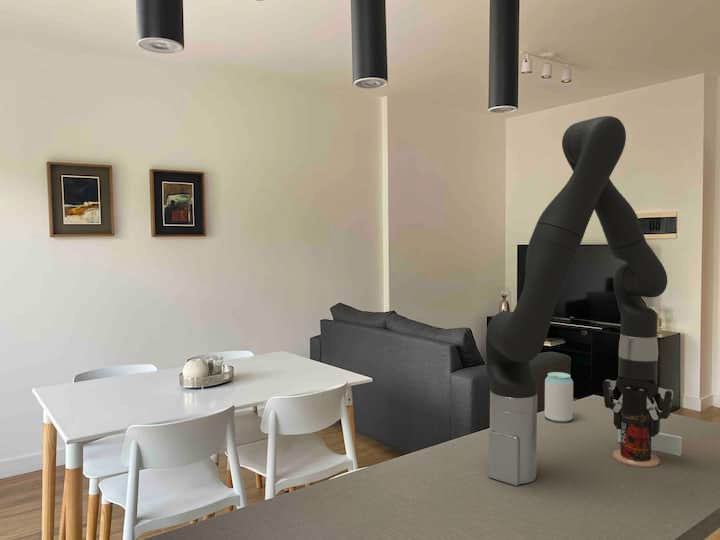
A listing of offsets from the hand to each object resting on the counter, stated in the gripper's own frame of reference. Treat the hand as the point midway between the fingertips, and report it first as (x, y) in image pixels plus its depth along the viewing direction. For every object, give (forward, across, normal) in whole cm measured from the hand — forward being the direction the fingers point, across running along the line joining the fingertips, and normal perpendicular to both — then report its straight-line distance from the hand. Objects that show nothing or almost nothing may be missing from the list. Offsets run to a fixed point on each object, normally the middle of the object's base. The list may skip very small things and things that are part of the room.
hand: (636, 431), depth 119 cm
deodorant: (+6, 0, 0) cm, 6 cm away
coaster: (+6, 0, 0) cm, 6 cm away
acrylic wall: (+6, 0, +9) cm, 11 cm away
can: (+6, -23, +16) cm, 29 cm away
